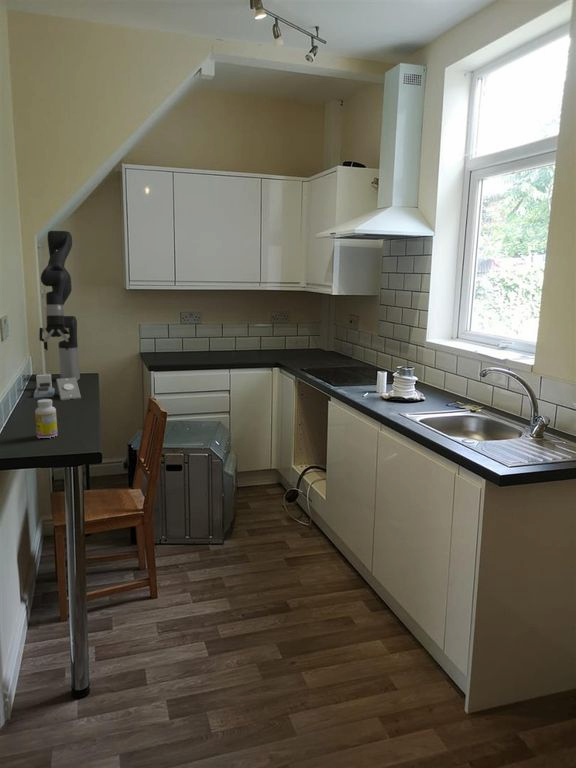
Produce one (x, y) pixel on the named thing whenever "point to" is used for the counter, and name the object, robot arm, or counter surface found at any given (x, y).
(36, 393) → the plate
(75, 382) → the light switch
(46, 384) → the din rail
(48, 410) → the supplement bottle
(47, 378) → the block
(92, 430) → the counter surface
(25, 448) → the counter surface
